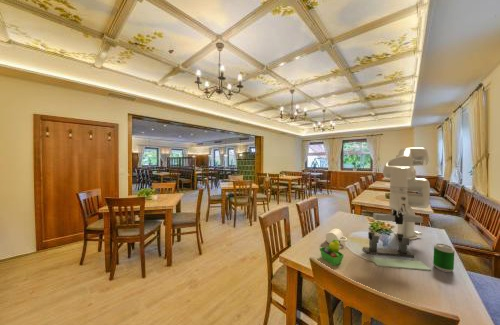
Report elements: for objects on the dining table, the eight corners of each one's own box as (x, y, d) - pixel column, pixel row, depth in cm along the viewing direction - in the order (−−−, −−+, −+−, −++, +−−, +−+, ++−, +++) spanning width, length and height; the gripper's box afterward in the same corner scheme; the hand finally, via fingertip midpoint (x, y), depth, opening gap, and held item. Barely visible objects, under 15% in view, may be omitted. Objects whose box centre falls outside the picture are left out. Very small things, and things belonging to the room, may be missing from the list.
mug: (325, 242, 131) (325, 231, 131) (331, 238, 139) (331, 227, 138) (344, 248, 123) (344, 236, 123) (349, 243, 131) (349, 231, 130)
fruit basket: (318, 256, 114) (318, 237, 113) (330, 254, 117) (331, 235, 116) (333, 267, 103) (333, 246, 102) (346, 264, 106) (346, 243, 105)
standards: (407, 252, 119) (407, 234, 119) (414, 257, 113) (415, 238, 112) (362, 248, 123) (363, 231, 123) (367, 253, 117) (367, 235, 116)
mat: (420, 262, 108) (420, 261, 108) (431, 270, 100) (431, 269, 100) (370, 258, 112) (370, 257, 112) (377, 266, 104) (377, 265, 104)
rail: (418, 221, 108) (419, 215, 108) (422, 222, 105) (423, 217, 105) (373, 218, 112) (373, 213, 112) (375, 220, 109) (375, 214, 109)
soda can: (455, 274, 97) (457, 251, 96) (435, 270, 101) (436, 247, 100) (450, 267, 103) (451, 245, 103) (431, 263, 107) (432, 241, 107)
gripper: (416, 192, 99) (414, 228, 100) (397, 187, 115) (396, 218, 116) (399, 192, 100) (398, 227, 101) (383, 187, 116) (382, 217, 117)
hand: (397, 222), depth 108 cm, fingers closed on rail, 3 cm apart
